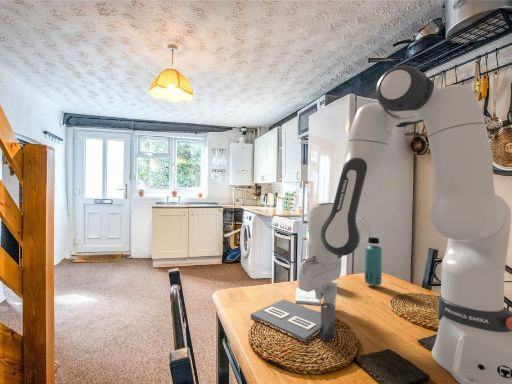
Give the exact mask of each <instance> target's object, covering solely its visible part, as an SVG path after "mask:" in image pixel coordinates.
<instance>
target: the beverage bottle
mask: <svg viewBox="0 0 512 384" xmlns="http://www.w3.org/2000/svg"><path fill="white" fill-rule="evenodd" d="M367 241H368V243H369V244H368V245H366V247H365V254H364V255H365V258H364V262H365V263H364V264H365V265H364V281H365V284H368V285H372V286H380V285H382V277H383V275H382V251H383V249H382V248H381V246H379V245H378V244H380V239H379V237H372V236H371V237H370V236H369V239H368V240H367ZM376 244H377V245H376Z"/></svg>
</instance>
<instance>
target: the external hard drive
mask: <svg viewBox="0 0 512 384" xmlns="http://www.w3.org/2000/svg"><path fill="white" fill-rule="evenodd" d="M320 300H321V299H320ZM320 300H319V299H316V293H315V291H314V290H312V291H310V292H307V291H303V290H301V289H300V288H299V287H295V304H299V305H300V304H302V305H314V306H321V302H320Z"/></svg>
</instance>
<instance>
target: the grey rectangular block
mask: <svg viewBox="0 0 512 384" xmlns="http://www.w3.org/2000/svg"><path fill="white" fill-rule="evenodd" d="M337 284H338V283H337V282H333V281H331V282H329V283H327V287H326V291H325V295H324V298H323V299H322V300H323V302H322V303H320V313H321V322H320V333H319V334H320V335H319V338H320V337H321V338H322V339H321V338H320V339H321V340H323V339H325V340H333V339H334V338H335V337H336V335H335V333H336V332H335V330H336V328H335V327H336V326H335V325H336V306H337V305H336V304H337V291H338V290H337V286H338V285H337ZM325 340H324V341H325ZM334 340H335V339H334ZM334 340H333V341H334Z"/></svg>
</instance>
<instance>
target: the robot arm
mask: <svg viewBox="0 0 512 384" xmlns="http://www.w3.org/2000/svg"><path fill="white" fill-rule="evenodd" d="M375 87H376V90H375V95H376V98H377V101H378V102H371V103H367V104H363V105H362V106H360V107H359V108H358V109H357V110H356V112H355V115H354V117H353V120H352V123H351V126H350V130H349V133H348V139H347V144H346V149H345V155H344V162H343V165H342V171H341V174H340V176H339V181H338V183H337V184H338V185H337V188H336V193H335V196H334V200H333V202H325V203H323V202H322V203H316V204H314V205H312V206H311V207H310V210H309V214H308V215H309V216H308V223H307V224H308V225H307V231H308V232H307V233H308V241H307V252H306V253H307V255H306V258H305V259H304V261H303V262H302V264H301V266H300V269H299V274H298V283H297V284H298V288H300V289H301V290H303V291H307V292H310V291H312V290H314V291H315V293H316V299H319V300H323V299H324V295H325V291H326V287H327V283H329V282H333V281H336V280H338V279H339V278H340V276H341V274H342V273H341V272H342V258H343V256H347V255H350V254H351V253H353V252H355V250H356V249H358V248H360V247H361V246H364V244H365V243H367V241H368V240H369V238H370V236H371V228H370V225H369V223H368V222H367V221H366V220H365V219H364V218H363V217H361V216H359V215H358V211H359V207H360V203H361V201H362V200H361V199H362V195H363V191H364V188H365V187H366V184H367V183H368V181H369V180H370V179H371V178H372V177H373V176H374V175H376V174H377V173H378V172H380V170H382V168H383V165H384V163H385V161H386V158H387V155H388V151H389V148H390V147H389V145H390V141H391V136H392V132H393V129H395V127H397V128H404V127H407V126H411V125H416V124H419V123H420V124H421V123H422V122H423V124H424V125H425V129H426V135H427V141H428V144H429V150H430V156H431V162H432V169H433V188H432V189H433V194H432V195H433V197H432V198H433V204H432V206H431V210H430V220H431V221H430V222H431V223H432V226H433V227H434V229H435V230H436V231H437V232H438V233H439V234H440V235H442V236H443V237H445V238H447V239H448V240H447V243H446V244H447V245H446V249H445V252H444V256H443V258H442V261H441V282H440V283H441V284H440V295H438V300H437V315H438V321H439V322H438V328H437V333H436V338H435V342H434V345H433V347H432V349H431V357H432V359H434V361H435V363H437V364H438V365H439V366H441V368H443V369H444V370H446V371H447V372H448V373H450V374H451V375H452V377H453V378H454V379H455V381H457V382H458V383H459V384H512V310H509V309H508V308H507V307H505V306H504V305H505V270H506V263H507V257H508V250H509V243H510V241H509V240H510V233H511V223H512V222H511V221H512V211H511V208H510V206H509V204H508V203H507V202H506V200H505V199H504V198H502V197H501V196H500V195H498V194H496V192H495V191H496V190H495V183H494V169H493V168H494V166H493V165H494V155H493V152H492V147H491V143H490V138H489V135H488V134H489V133H488V130H487V126H486V122H485V117H484V114H483V110H482V109H481V105H480V103H479V101H478V98H477V97H476V95H475V92H474V91H473V90H472V88H471V87H469V86H468V85H464V84H451V85H450V84H449V85H446V86H443V87H435V83H434V81H433V80H432V79H431V78H429V77H428V76H427V75H426V74H424V73H423V72H422V71H421V70H419V69H418V68H416V67H414V66H411V65H405V64H404V65H403V64H402V65H396V66H393V67H391V68H390V69H388V70H386V71H385V72H384V73H383V74H382V75H381V77H380V78H379V80H378V81H377V84H376V86H375Z"/></svg>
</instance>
